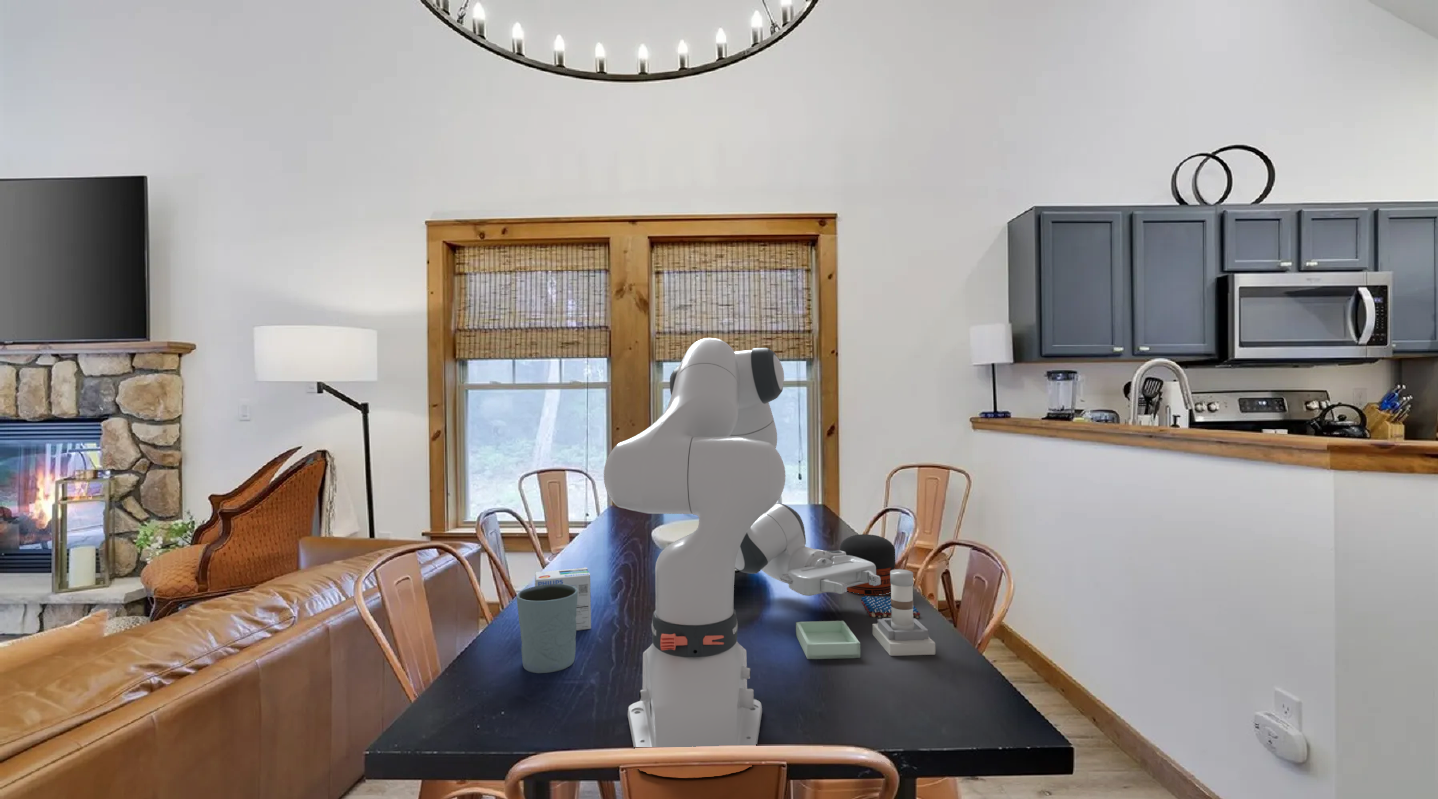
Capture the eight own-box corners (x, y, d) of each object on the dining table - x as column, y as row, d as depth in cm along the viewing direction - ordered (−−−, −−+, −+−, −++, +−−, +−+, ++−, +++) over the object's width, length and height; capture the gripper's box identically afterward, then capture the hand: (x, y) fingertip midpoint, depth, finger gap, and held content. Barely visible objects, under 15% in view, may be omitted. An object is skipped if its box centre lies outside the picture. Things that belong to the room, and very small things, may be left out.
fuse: (917, 636, 108) (916, 575, 108) (895, 637, 107) (894, 575, 108) (909, 628, 112) (908, 569, 112) (888, 629, 111) (887, 569, 112)
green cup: (572, 674, 98) (572, 600, 98) (508, 676, 97) (509, 601, 97) (582, 649, 108) (582, 582, 108) (524, 651, 107) (524, 583, 107)
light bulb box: (588, 618, 124) (588, 566, 125) (591, 629, 118) (591, 574, 118) (534, 624, 121) (534, 570, 121) (535, 636, 115) (535, 579, 115)
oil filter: (860, 577, 154) (829, 587, 145) (859, 529, 154) (828, 536, 145) (906, 588, 144) (876, 599, 135) (905, 536, 145) (875, 545, 136)
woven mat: (922, 620, 123) (921, 610, 123) (869, 620, 124) (869, 610, 124) (908, 604, 134) (907, 595, 134) (859, 604, 134) (859, 594, 134)
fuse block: (935, 654, 105) (935, 634, 105) (890, 655, 104) (889, 635, 104) (913, 633, 115) (913, 614, 115) (872, 634, 114) (872, 615, 114)
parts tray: (860, 657, 103) (860, 643, 104) (807, 659, 103) (807, 644, 103) (843, 633, 115) (843, 620, 115) (795, 635, 114) (795, 621, 114)
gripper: (775, 562, 123) (822, 577, 112) (846, 549, 135) (895, 561, 123) (775, 593, 123) (822, 611, 112) (846, 577, 135) (896, 592, 123)
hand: (861, 585), depth 118 cm, fingers open, 8 cm apart
